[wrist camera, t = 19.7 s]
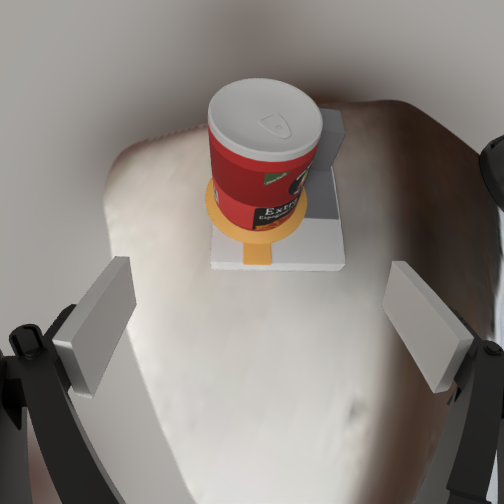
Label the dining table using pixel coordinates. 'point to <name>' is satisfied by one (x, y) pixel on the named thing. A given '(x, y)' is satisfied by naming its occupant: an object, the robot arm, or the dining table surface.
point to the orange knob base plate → (290, 221)
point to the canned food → (261, 150)
